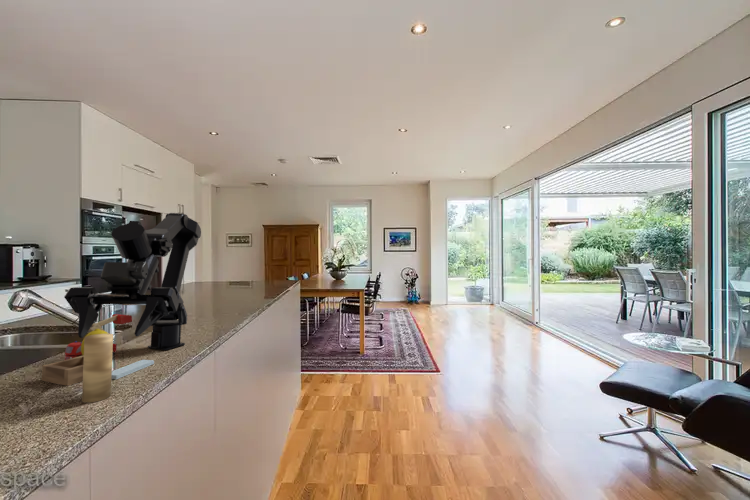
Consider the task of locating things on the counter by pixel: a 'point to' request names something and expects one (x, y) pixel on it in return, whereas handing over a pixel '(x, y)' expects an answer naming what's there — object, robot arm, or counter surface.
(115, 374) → the plate
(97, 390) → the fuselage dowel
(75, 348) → the toy fire truck
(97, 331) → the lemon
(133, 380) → the counter surface
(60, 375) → the square wooden tray
